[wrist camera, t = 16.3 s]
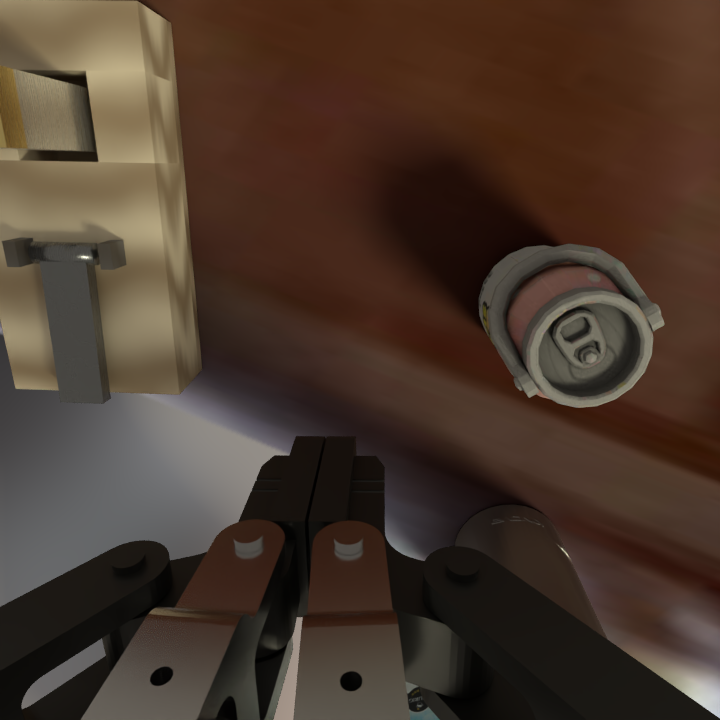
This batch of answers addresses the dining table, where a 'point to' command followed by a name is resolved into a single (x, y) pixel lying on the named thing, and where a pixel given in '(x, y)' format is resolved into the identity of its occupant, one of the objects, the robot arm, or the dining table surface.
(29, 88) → the pin
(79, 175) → the block
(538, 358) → the beverage can
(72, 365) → the lever
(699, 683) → the dining table surface
